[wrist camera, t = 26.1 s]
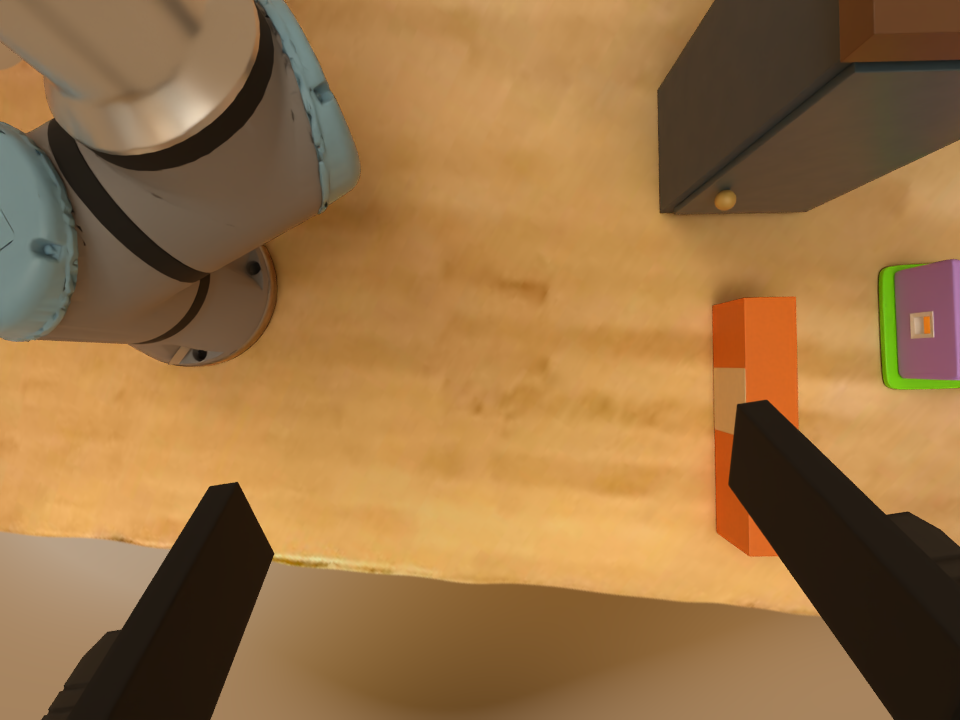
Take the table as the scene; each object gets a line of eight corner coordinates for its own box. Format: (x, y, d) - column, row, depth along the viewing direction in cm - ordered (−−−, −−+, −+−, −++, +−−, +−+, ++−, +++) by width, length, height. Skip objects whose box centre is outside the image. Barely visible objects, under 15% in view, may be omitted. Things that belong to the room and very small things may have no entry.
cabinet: (815, 232, 48) (1271, 53, 20) (649, 235, 48) (875, 62, 20) (812, 76, 48) (1262, -318, 20) (646, 80, 49) (867, -305, 21)
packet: (762, 532, 48) (802, 556, 42) (715, 532, 48) (748, 556, 42) (758, 304, 48) (796, 296, 42) (711, 305, 48) (743, 297, 42)
